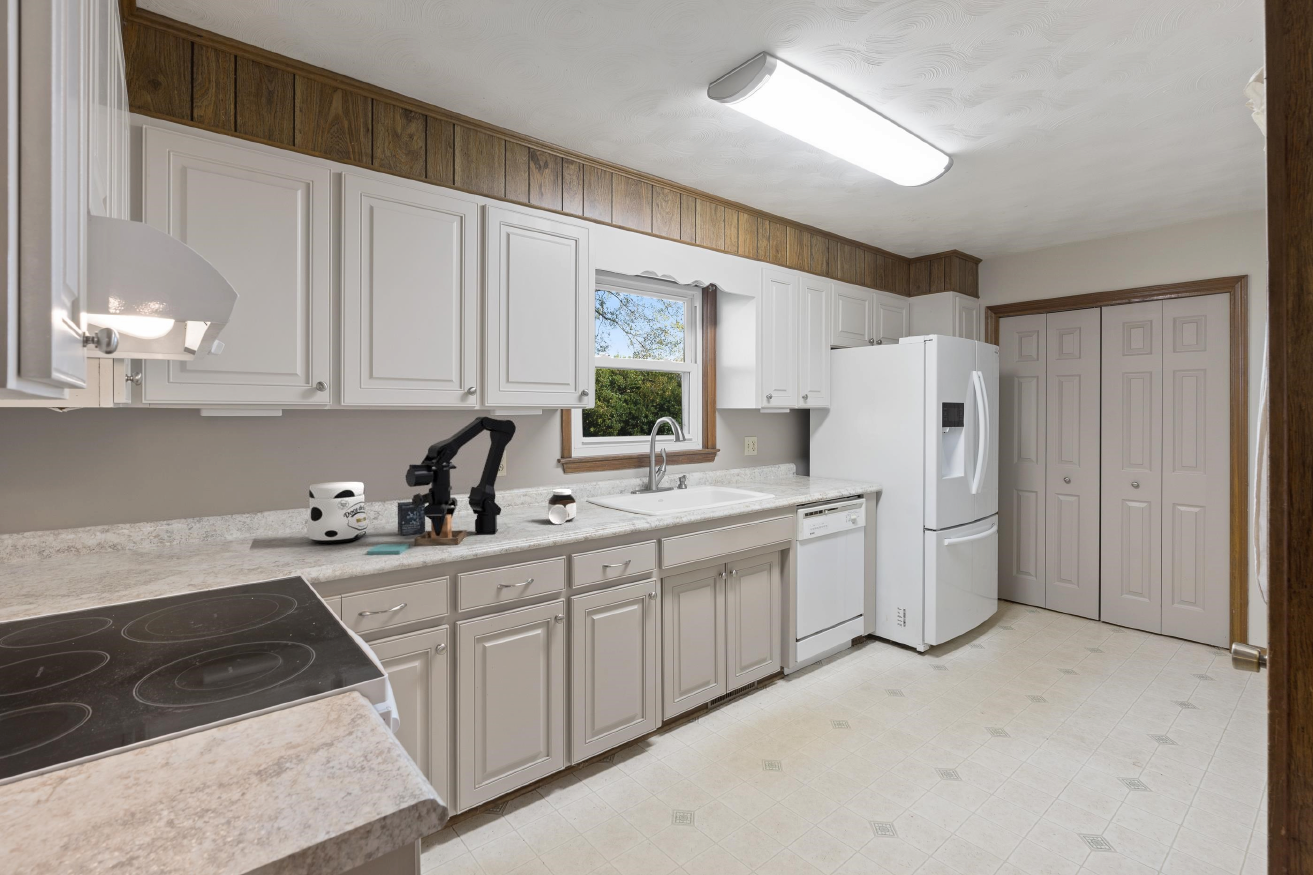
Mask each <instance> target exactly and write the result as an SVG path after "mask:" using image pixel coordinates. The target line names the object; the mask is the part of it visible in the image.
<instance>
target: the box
mask: <svg viewBox="0 0 1313 875" xmlns="http://www.w3.org/2000/svg"><path fill="white" fill-rule="evenodd" d="M425 507H426V504H424V505H421V506H419V507H418V508H415V506H414V504H412V501H404V502H397V533H398V535H399V536H400V537H403V536H411V535H412V536H413V535H421V534H423V533H424V532H425V531H426V516H425V515H423V509H424V508H425Z"/></svg>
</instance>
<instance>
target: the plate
mask: <svg viewBox="0 0 1313 875" xmlns="http://www.w3.org/2000/svg"><path fill="white" fill-rule="evenodd" d="M409 548H410V544H409V543H391V544H389V543H388V544H386V543H385V544H377V545H375V546H374V547H372V548H370V549H369V550H367V551H366V555H367V556H369V555H370V556H373V555H374V556H375V555H377V556H378V555H401V554H402V553H403V552H405V551H406V550H408V549H409Z"/></svg>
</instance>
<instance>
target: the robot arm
mask: <svg viewBox="0 0 1313 875" xmlns="http://www.w3.org/2000/svg"><path fill="white" fill-rule="evenodd" d="M516 428H517V426H516V425H515V423H514V421H513V420H511V419H496V418H492V417H489V416H477V417H476V418H474V420H472V421H471V422H469V423H468V424H467V425H466V426H464V427H463V428H461V429H460V430H459V431H457V432H456V433H454V434H453V435H452V436H450V437H449V438H446V439H443V440H440V441H438V442H435V443H433V444H431V445H430V446H428V449H427V453H426V455H425V457H423V460H422V461H421V463H420V464H414V463H411V464H410V463H409V465H408V469H407V470H406V474H405V482H406V484H407V486H408V487H410V488H413V487H424V486H429V485H431V486H430V487H429V488H428V492H425V493H423V494H421V493H420V492H419V493H416V494H414V495H413V496H412V498H411V502H412V504H414V506H415V508H418V507H419V506H421V505H424V504H425V508H424V509H423V515H425V518H428V519H429V520H430V521H431V522H432V524H433V528H434V531H435V534H436V536H440V534H441V531H442V528H443V525H444V522H445V519H446V516H447V515H451V520H452V518H453V516H454V514H455V511H456V509H457V506H458V499H457V498H456V497H452V496H451V495H452V494H451V491H452V490H453V486H452V485H451V470H456V469H457V466H456V465H454V464H453V462H452V460H453V459H454V458H455V457H456V455H458V453H459V450H460V449H461V448H462V447H463V446H465V445H466V444H468V443H469V442H470V441H471V440H473V439H474V438H475V437H478V435H479V434H480V433H482V432H483V431H486V432H487V431H488V432H489V438H490V445H489V450H488V452H487V456H486V459H485V463H484V466H483V470H482V474H481V477H480V480H479V483H478V484H477V486H471V487H470V492H469V496H468V497H467V499H468V505H469V507H470V509H471V510H472V513H473V514H474V515H476V518H475V520H474V531H475V535H495V534H497V533H498V532H499V528H498V516H500V515H501V513H502V508H501V507H500V506H499V504H497V503H496V491H495V485H496V480H497V478H498V475H499V474H498V473H499V470H500V467H501V464H502V460H503V456H504V453H505V449H506V447H507V445H508V444H509V443H510V442H511V440H513V438H514V435H515V433H516V430H517V429H516ZM431 522H430V523H431Z"/></svg>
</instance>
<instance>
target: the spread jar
mask: <svg viewBox="0 0 1313 875" xmlns="http://www.w3.org/2000/svg"><path fill="white" fill-rule="evenodd" d="M576 515H577V501H576V498H574V496H573V495H572V489H568V488H567V489H566V488H559V489H553V490H552V496H550V498H549V499H548V501H547V516H548V518H549V521H550V522H551V523H553V524H554V525H562V524H564V522H566V523H571V522H573V520H575V518H576ZM570 521H571V522H570Z"/></svg>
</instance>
